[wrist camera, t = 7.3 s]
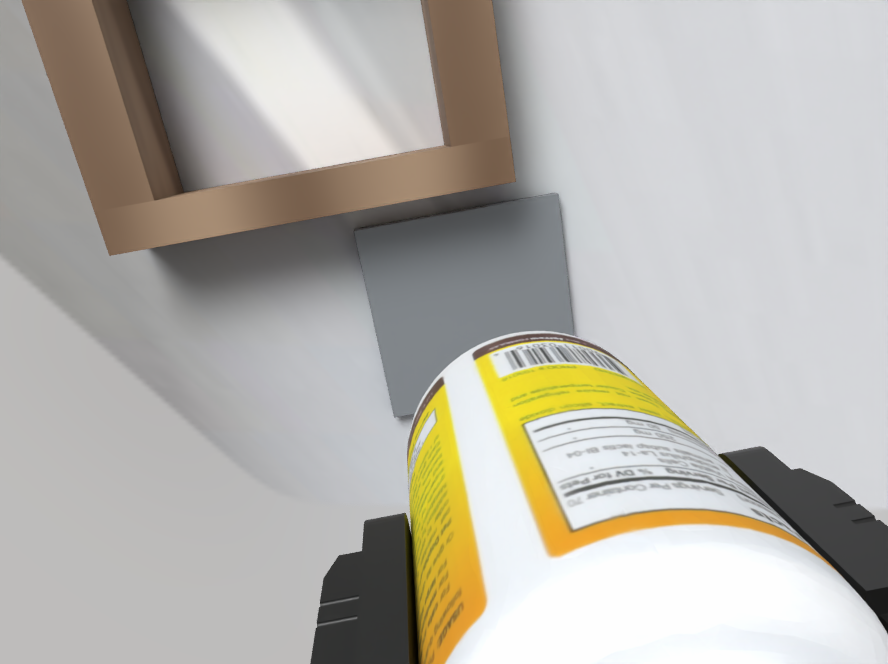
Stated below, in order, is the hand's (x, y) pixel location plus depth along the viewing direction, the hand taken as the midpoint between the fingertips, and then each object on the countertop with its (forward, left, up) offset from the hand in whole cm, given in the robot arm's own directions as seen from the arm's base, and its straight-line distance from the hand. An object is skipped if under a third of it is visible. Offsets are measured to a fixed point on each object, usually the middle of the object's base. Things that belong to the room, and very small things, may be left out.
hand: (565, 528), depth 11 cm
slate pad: (0, 0, -15) cm, 15 cm away
